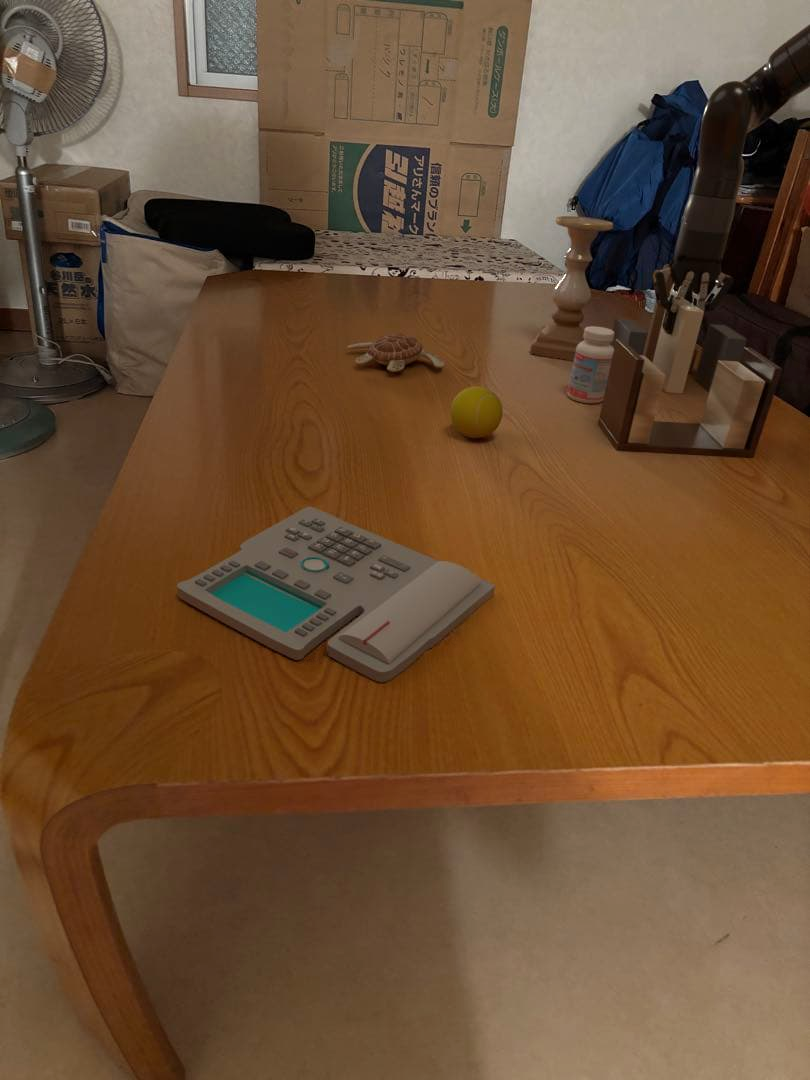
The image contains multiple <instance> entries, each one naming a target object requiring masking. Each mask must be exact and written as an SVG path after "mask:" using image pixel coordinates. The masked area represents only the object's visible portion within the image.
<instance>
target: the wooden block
mask: <svg viewBox="0 0 810 1080" xmlns="http://www.w3.org/2000/svg"><path fill="white" fill-rule="evenodd" d="M669 264H670V263H665V264H664V265H663V268H662V269H664V268H667V267H669ZM673 284H674V282H673V280H672V278H671V275H669V276H668V281H667V282H666V283H665V285H666V291H667V297H668V298H669V296H670V291H671V289H672V286H673ZM686 296H687V293H686V294H685V296H684V298H683V299H685V300H686ZM664 313H665V308H663V307H662V306H660V305H659V304H658V303H657V301H656V300H655V303H654V306H653V311H652V316H651V319H650V324H649V328H648V331H647V332H648V335H647V339H646V344H645V348H644V352H643V356H645V357H646V358H648V359H649V360H650V361H651V362H652V363H653V359H654V355H655V350H656V346H657V342H658V338H659V334H660V330H661V325H662V321H663V317H664ZM697 355H698V347H697V345H696V344H695V348H694V352H693V356H692V360H691V363H690V367H689V371H688V374H689V373H690V374H691V373H692V372H693V370H694V366H695V362H696V359H697Z"/></svg>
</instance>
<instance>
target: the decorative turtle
mask: <svg viewBox="0 0 810 1080" xmlns="http://www.w3.org/2000/svg"><path fill="white" fill-rule="evenodd" d="M423 347H424V346H423V344H422V343H420V342H419V339H418V338H416V336H415V337H414V336H410V335H408V334H404V333H401V332H399V333H397V332H396V333H389V334H384V335H382V336H380V337H379V338H378V339H376V340H374V341H365V342H359V343H354V344H349V345H348V346H346V348H347V349H348V350H349V351H350V350H351V351H352V350H361V349H367V350H366V353H364V354H362V355H359V356H358V357H357V358H356V359H355V364H357V365H359V366H361V365H364V364H367V363H368V362H370V361H375V362H377V363H379V364H380V365H384V366H387V368H386V369H387V371H388V372H391V373H394V372H400V371H402V370H404V368H405V367H406V365H408V364H411V363H412V362H415V361H417V360H418V359H419V358H421V357H423V358H425V359H427V360H428V361H430V363H432V364H433V366H434V368H435V369H440V368H443V367H444V366H445V361H444V360H443V359H442V357H441V356H439V355H437V354H434V353H433V352H431V351H428V350H426V349H424V348H423Z"/></svg>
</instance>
